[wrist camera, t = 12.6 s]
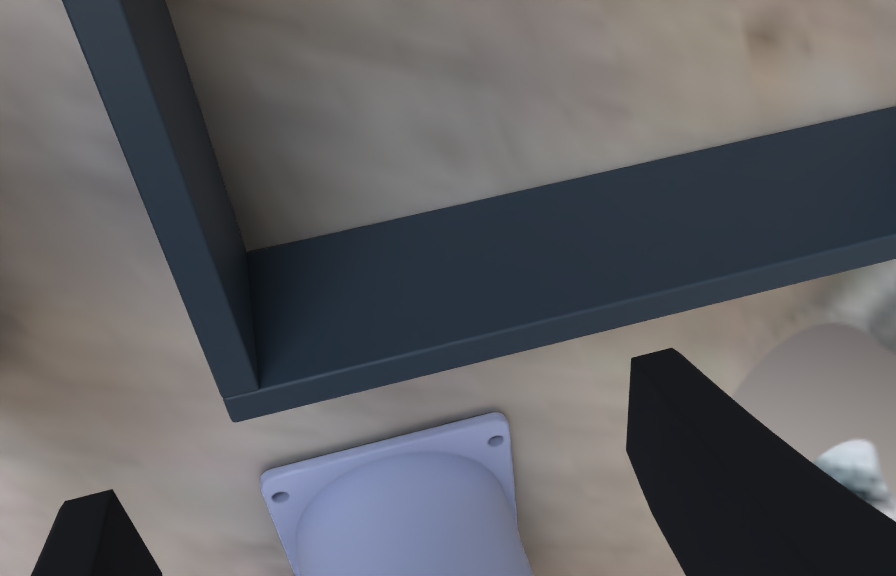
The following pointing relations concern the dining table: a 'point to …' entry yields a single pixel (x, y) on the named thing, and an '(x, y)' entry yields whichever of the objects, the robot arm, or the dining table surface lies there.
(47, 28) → the dining table surface
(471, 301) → the bin
